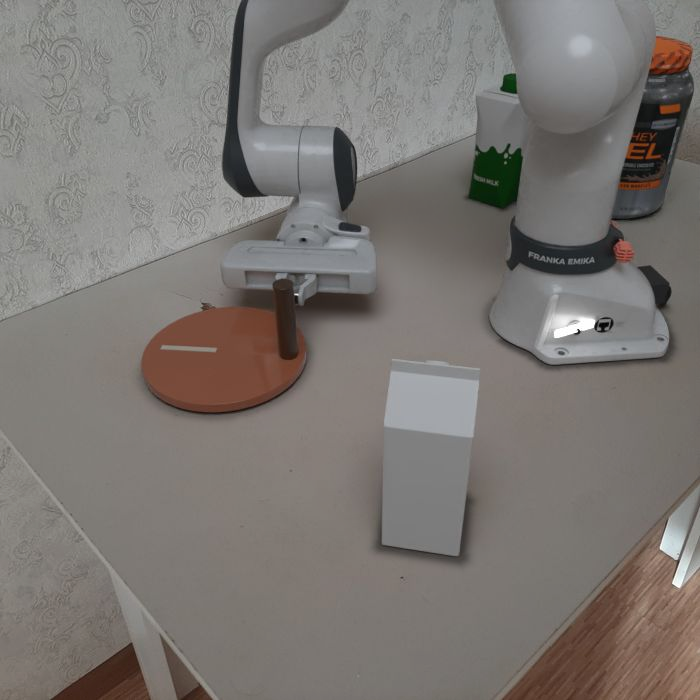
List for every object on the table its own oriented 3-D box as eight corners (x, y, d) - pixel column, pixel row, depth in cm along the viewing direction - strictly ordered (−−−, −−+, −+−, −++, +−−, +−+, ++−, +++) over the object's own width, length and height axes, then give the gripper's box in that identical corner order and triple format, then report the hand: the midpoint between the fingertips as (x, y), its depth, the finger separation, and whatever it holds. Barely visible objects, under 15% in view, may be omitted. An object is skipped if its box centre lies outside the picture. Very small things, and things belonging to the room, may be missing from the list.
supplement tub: (555, 210, 121) (582, 49, 106) (580, 177, 132) (608, 27, 117) (652, 230, 115) (696, 63, 99) (670, 194, 126) (712, 37, 110)
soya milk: (530, 194, 126) (547, 78, 114) (504, 212, 121) (519, 92, 109) (488, 181, 131) (500, 68, 119) (460, 198, 126) (470, 81, 114)
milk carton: (458, 558, 65) (478, 398, 53) (381, 546, 66) (384, 387, 55) (464, 499, 70) (483, 343, 59) (393, 489, 71) (397, 334, 60)
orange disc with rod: (317, 317, 96) (313, 242, 89) (291, 417, 80) (284, 335, 73) (171, 310, 97) (157, 236, 91) (118, 407, 81) (96, 326, 75)
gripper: (231, 222, 97) (203, 274, 86) (381, 227, 95) (373, 281, 84) (236, 263, 101) (210, 318, 90) (381, 268, 99) (373, 325, 88)
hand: (290, 300), depth 87 cm, fingers closed
